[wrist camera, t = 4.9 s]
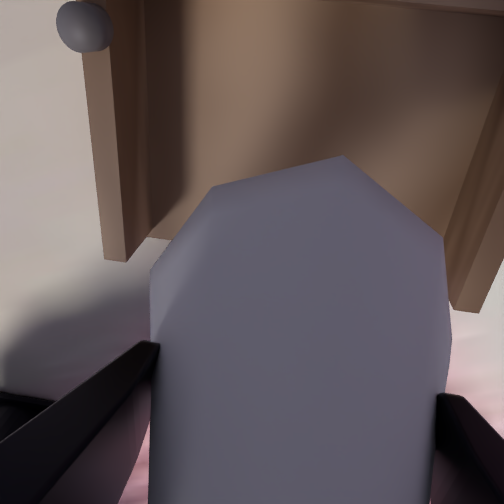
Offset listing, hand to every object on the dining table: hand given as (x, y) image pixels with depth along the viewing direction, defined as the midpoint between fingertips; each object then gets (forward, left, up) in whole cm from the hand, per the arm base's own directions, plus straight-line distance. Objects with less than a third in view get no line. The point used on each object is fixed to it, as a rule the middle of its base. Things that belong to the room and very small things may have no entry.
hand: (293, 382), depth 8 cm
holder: (0, +2, -13) cm, 13 cm away
